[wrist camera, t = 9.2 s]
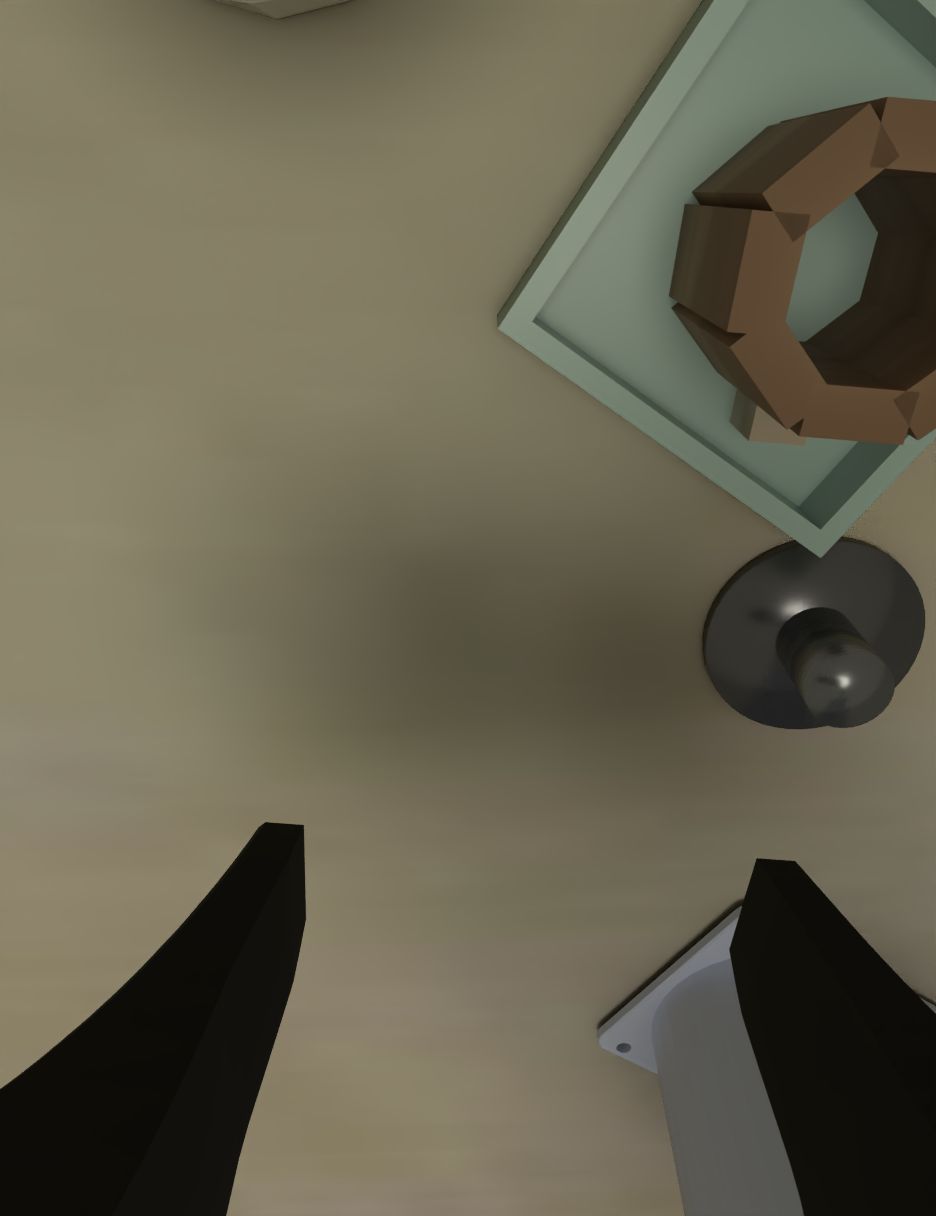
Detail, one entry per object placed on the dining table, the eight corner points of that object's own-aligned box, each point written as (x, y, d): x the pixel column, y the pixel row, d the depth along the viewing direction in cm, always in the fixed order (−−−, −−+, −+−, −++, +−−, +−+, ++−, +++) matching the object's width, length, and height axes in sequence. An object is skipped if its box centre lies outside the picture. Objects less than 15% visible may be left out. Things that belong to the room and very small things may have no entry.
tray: (1097, 192, 17) (1167, 193, 16) (792, 526, 21) (821, 557, 19) (777, -113, 15) (814, -153, 13) (497, 315, 19) (497, 328, 17)
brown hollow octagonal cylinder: (700, 114, 16) (777, 87, 12) (950, 135, 16) (1120, 116, 12) (647, 415, 19) (695, 484, 15) (862, 432, 19) (975, 507, 15)
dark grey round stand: (964, 609, 22) (1028, 667, 19) (810, 752, 24) (849, 821, 21) (806, 494, 20) (852, 539, 18) (659, 656, 23) (681, 717, 20)
